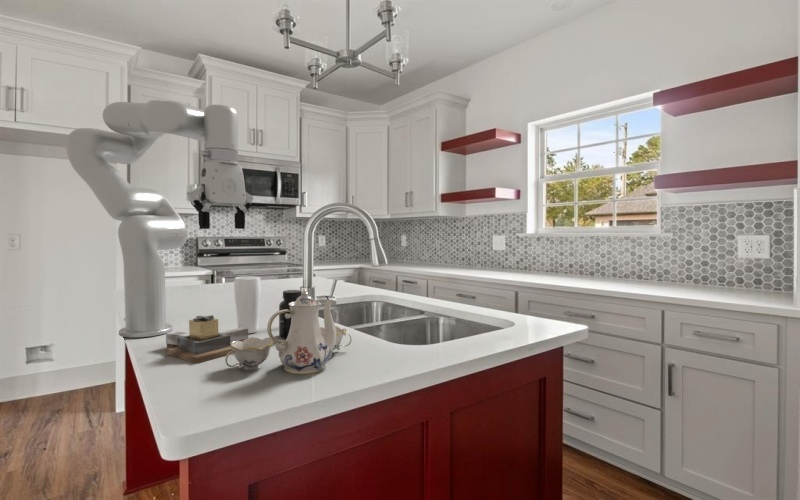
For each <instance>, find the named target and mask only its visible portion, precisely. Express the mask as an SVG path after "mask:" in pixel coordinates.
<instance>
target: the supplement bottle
mask: <svg viewBox="0 0 800 500" xmlns="http://www.w3.org/2000/svg"><path fill="white" fill-rule="evenodd" d="M302 292H303V291H302V290H300V289H287V290H283V291H282V299H283V300H282V301H281V302H280V303H279V305H278V311H281V310H285V309H288V310H291V309H290V305H289V303H291V302H296V299H297V298H298V297H300V296H302V295H301V293H302ZM286 313H288V314H291V313H290V312H284V313H281V314H279V315H278V335H279V337H280V338H281V339H285V340H286V339H287V337H288V334H289V331H290V327H291V317H290V318H289V319H286V318H285V314H286Z"/></svg>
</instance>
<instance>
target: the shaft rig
mask: <svg viewBox="0 0 800 500" xmlns="http://www.w3.org/2000/svg"><path fill="white" fill-rule="evenodd" d="M247 338H249V334H248V328H243V327H241V328H238V327H237V328H232V329H227V330H223V331H218V337H217V338H213V339H208V340H204V341H200V342H199V341H196V340H192V339H189V332H184V331H175V330H173V331H170V332H168V333H165V343H166V351H165V352H166V355H169V356H172V357H175V358H179V359H182V360H184V361H187V362H191V363H194V364H201V363H204V362H207V361H212V360H215V359H219V358H222V357H226V356H227V354H228V353H229V352H231V351H233V350H232V349H231V347H230V346H231V343H232V342H233V341H244V340H245V339H247ZM233 353H234V352H233ZM230 355H232V353H230V354H229V356H230Z"/></svg>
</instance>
